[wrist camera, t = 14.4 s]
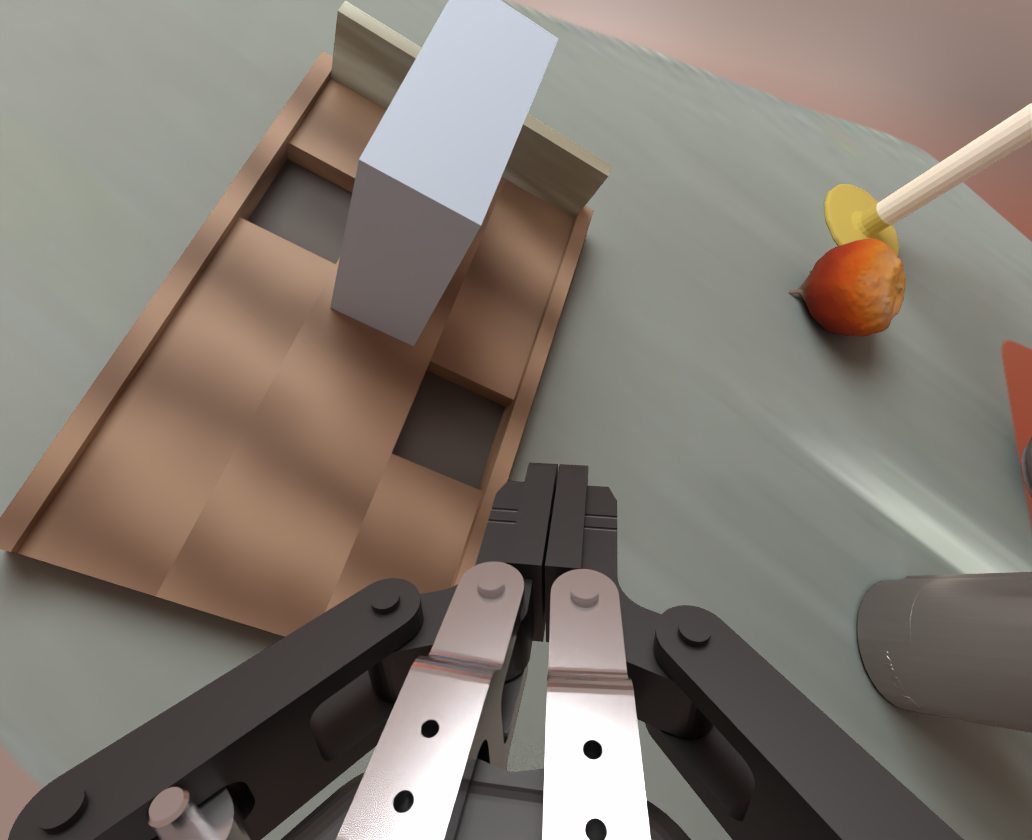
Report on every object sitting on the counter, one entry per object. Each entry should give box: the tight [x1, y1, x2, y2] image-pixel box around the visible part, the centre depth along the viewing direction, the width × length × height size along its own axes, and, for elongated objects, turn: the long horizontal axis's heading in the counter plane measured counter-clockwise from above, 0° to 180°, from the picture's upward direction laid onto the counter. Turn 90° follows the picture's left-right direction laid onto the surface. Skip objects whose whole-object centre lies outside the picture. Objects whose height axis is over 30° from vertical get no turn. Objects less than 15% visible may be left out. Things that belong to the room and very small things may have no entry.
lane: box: [0, 1, 612, 637], centre depth 30 cm, size 32×20×6 cm, turn 162°
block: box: [330, 0, 558, 346], centre depth 29 cm, size 12×5×12 cm, turn 162°
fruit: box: [789, 239, 905, 336], centre depth 48 cm, size 8×8×8 cm
